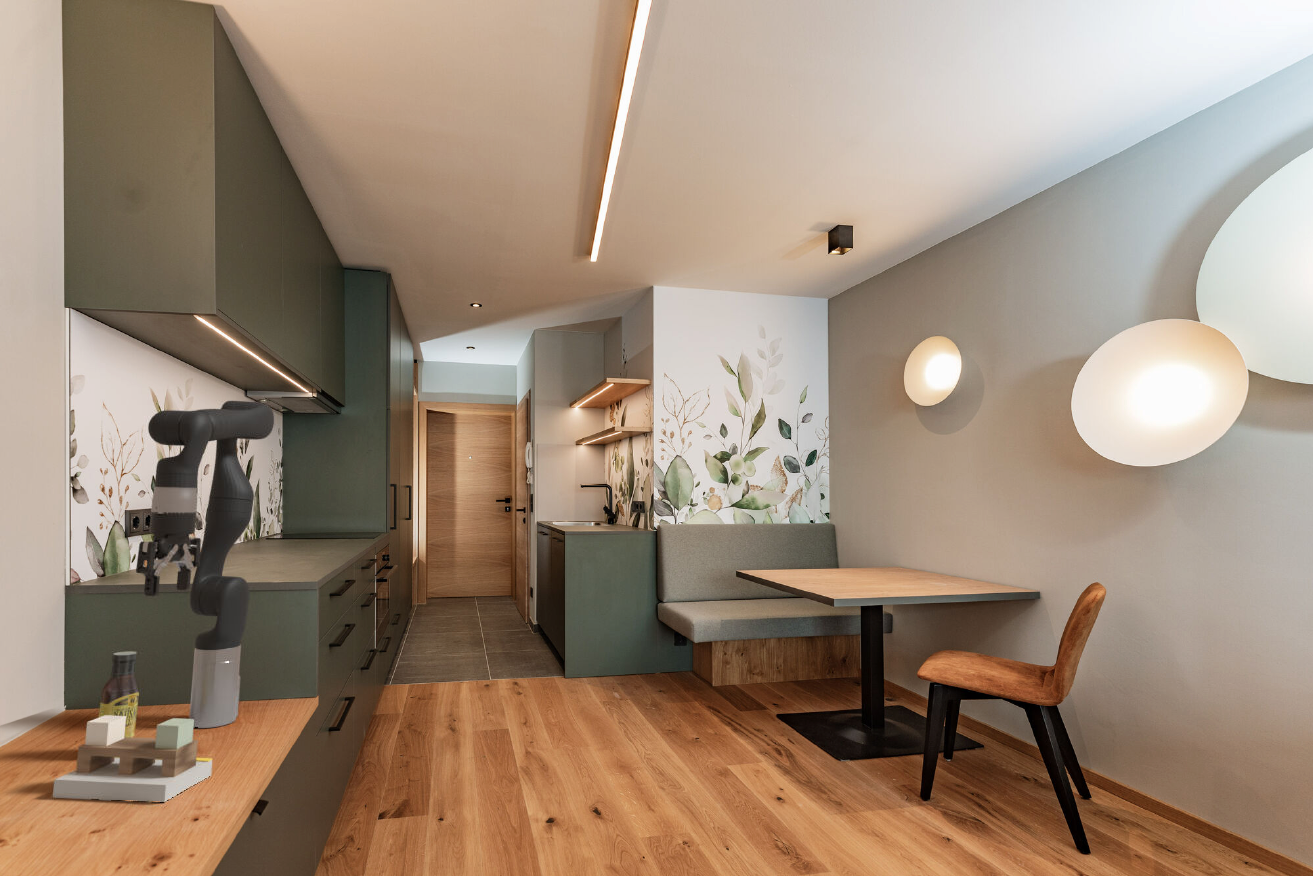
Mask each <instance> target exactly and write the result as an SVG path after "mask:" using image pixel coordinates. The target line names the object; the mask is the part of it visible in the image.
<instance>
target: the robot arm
mask: <svg viewBox="0 0 1313 876" xmlns="http://www.w3.org/2000/svg"><path fill="white" fill-rule="evenodd" d="M274 423H275V416H274V412H273V409H272V407H270V406H269V405H268V404H266V403H263V402H258V401H257V402H256V401H243V400H242V401H241V400H227V401H225V402H224V403H223V404H222V406H221V407H220V408H203V409H202V408H201V409H196V410H176V409H175V410H172V409H171V410H170V409H165V410H161V411H158V412H156V413H155V414H153V416H152V417H151V418H150V420H149V422H148V427H147V429H148V433H149V436H150V438H151V439H152V440H153V441H154V442H155V443H157V444H159V445H163V446H177V447H178V446H179V447H183V448H182V450H181V451H180V453H178V454H177V455H175V456H174V455H173V456H168V457H163V458H161V459H159V460H158V462H157V463H156V467H155V468H156V469H155V480H154V489H153V490H154V491H153V494H152V500H151V510H150V520H149V521H150V522H149V533H150V534H151V535H153V537H154V538H153V540H152V541H148V540H147V541H143V540H142V541H140V542H139V546H138V552H137V560H136V569H135V572H136V573H137V574H141V575H143V576H144V578H145V579H144V587H143V588H144V590H143V591H144V595H145V596H147V597H156V596H158V595H159V590H160V580H161V576H160V574H161V572H162V570H163V569H164V567H167V566H168V565H169V563H173V564H175V565H176V568H177V569H178V571H177V577H176V589H177V590H178V591H187V590H189V589H190V587H191V589H190V595H189V605H190V608H191V611H192V612H193V613H194V614H196V615H197V616H203V617H204V616H205V617H216V622H215V625H214V627H213V628H211V629H209V630H207V631H203V632H201V633H199V634H198V635H196V637H195V641H194V642H195V643H194V653H193V666H192V681H191V690H190V691H191V693H190V694H191V695H190V705H189V717H188V719H194V726H193V728H195V727H198V728H197V729H205V728H207V729H208V728H217V727H222V726H226V725H229V724H232V723H233V722H235V721H236V719H237V717H238V716H239V704H240V703H239V701H240V688H241V675H240V665H241V664H240V663H241V652H242V651H241V650H242V649H241V648H242V639H243V636H244V633H245V630H246V626H247V617H248V611H249V603H250V602H249V601H250V589H249V584H248V582H247V580H246V579H245V578H243V577H241V576H229V575H227V576H226V575H223V571H224V567H225V563H226V559H227V556H228V554H229V552H230V550H231V549H232V548H233V546H234V545H235V544H236V542H237V541H238V539H240V537H241V536H242V534H243V533H244V532H245V531H246V529H247V528H248V526H249V524H250V522H251V519H252V512H253V507H254V500H255V493H254V488H253V487H252V486H253V485H251V482H250V480H249V478H248V477H247V475H246V473H245V471H244V470H243V467H242V466H241V463H240V460H239V457H238V449H237V448H238V446H237V445H238V440H239V439H240V440H253V441H254V440H263V439H266V438H268V437H269V436H270V434H272V431H273V429H274V426H275V424H274ZM212 441H213V442H214V441H216V443H215V444H216V447H215V448H216V449H215V458H214V459H215V462H214V467H213V468H214V470H213V475H212V482H211V485H210V486H211V488H210V492H209V497H208V504H207V510H206V517H205V518H206V519H205V526H204V527H205V528H204V533H203V537H202V538H203V539H202V541H201V538H200V537H190V535H193V534H195V531H196V524H197V523H196V522H197V520H196V519H197V508H198V507H197V506H198V490H197V488H198V478H199V477H198V476H199V468H200V465H201V462H202V459H203V456H204V454H205V450H206V449H207V446H208V444H209V443H210V442H212ZM192 556H194V557H192ZM192 559H193V560H192ZM145 561H146V566H145ZM195 568H196V569H195ZM194 569H195V572H194V576H193V579H192V580H193V581H192V585H191V578H192V571H194ZM190 585H191V586H190Z"/></svg>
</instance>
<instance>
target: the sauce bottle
mask: <svg viewBox="0 0 1313 876" xmlns="http://www.w3.org/2000/svg"><path fill="white" fill-rule="evenodd" d="M137 658H138V653H137V651H119V652H114V653H112V657H111V660H112V667H111V673H110V678H108V681H107V682H106V683H105V685H104V687H103V689H102V691H101V698H100V699H101V700H100V704H99V711H98V718H99V717H102V716H105V715H110V716H126V722H125V734H124V737H135V733H136V725H137V716H138V715H137V714H138V706H139V705H138V704H139V697H140V692H139V689H138V685H137V681H136V677H135V666H136V660H137Z"/></svg>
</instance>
